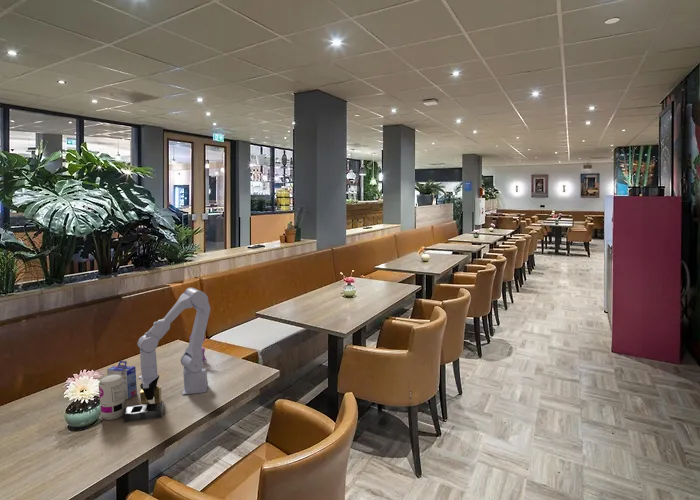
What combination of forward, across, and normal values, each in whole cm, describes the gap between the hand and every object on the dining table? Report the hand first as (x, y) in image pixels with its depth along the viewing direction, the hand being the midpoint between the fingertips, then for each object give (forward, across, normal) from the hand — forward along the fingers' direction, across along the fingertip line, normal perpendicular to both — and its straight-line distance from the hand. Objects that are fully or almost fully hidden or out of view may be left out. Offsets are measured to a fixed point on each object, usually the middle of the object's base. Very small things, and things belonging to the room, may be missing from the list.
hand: (151, 397), depth 165 cm
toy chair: (+3, -37, +13) cm, 39 cm away
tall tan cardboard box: (+3, 0, 0) cm, 3 cm away
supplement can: (+3, +6, -12) cm, 14 cm away
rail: (+3, +10, 0) cm, 10 cm away
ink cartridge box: (+3, -10, -13) cm, 17 cm away
